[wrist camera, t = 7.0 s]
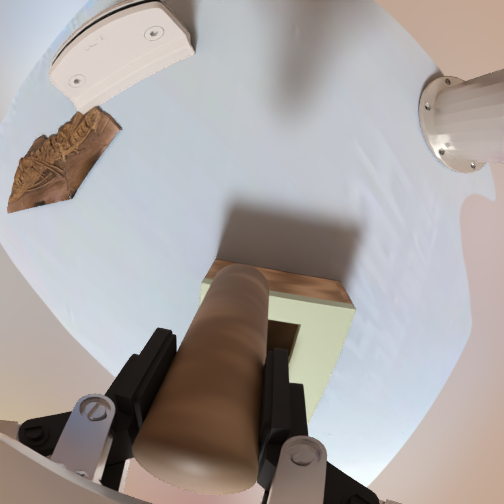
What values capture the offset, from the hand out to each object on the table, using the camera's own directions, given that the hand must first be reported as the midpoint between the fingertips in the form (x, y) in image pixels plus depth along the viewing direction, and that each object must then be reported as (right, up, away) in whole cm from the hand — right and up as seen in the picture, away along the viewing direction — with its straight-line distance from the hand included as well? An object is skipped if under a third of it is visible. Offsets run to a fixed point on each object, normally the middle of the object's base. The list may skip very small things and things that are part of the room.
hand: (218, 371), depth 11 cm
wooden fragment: (-27, +16, +22) cm, 38 cm away
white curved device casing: (-14, +28, +17) cm, 36 cm away
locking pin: (+1, +2, +7) cm, 8 cm away
